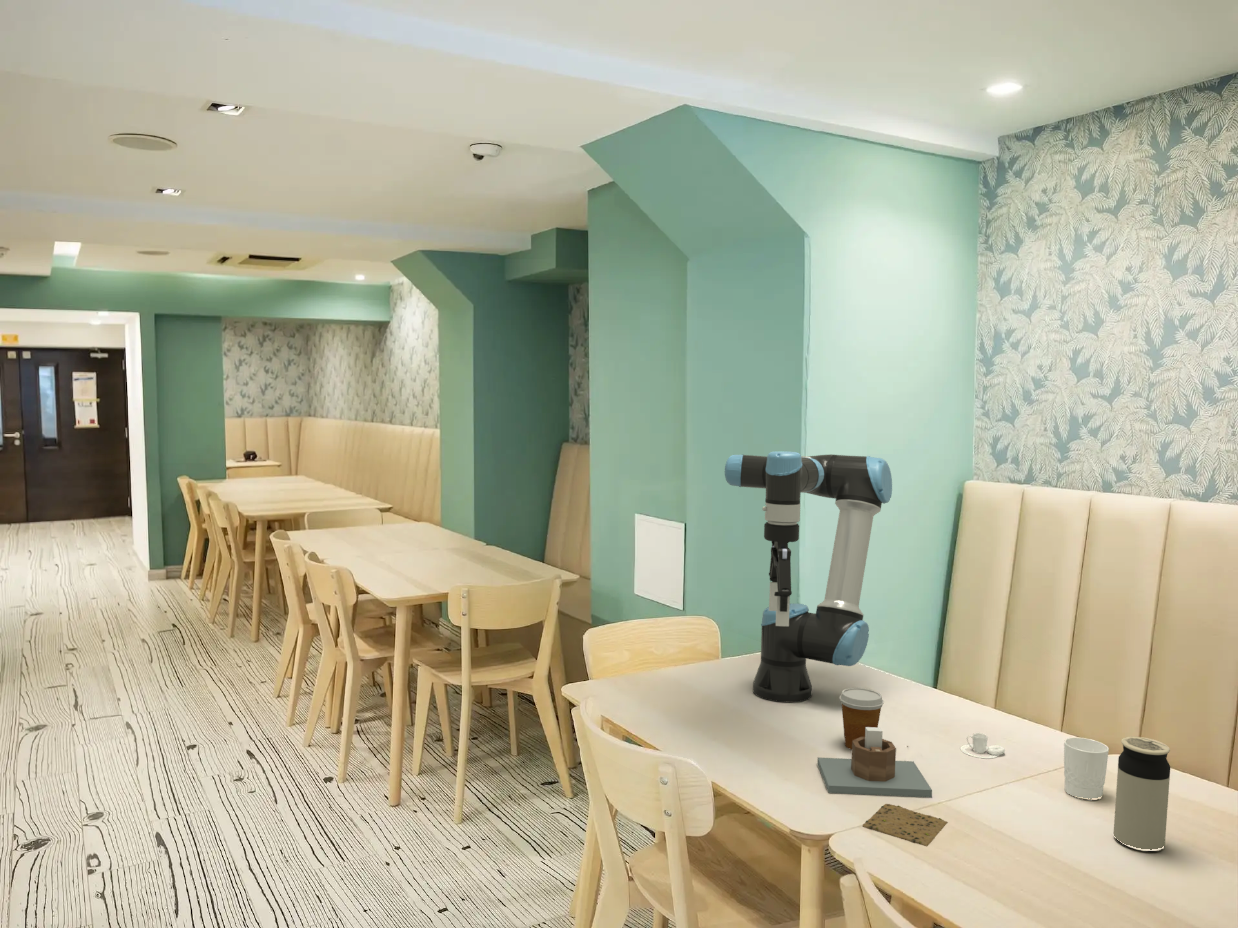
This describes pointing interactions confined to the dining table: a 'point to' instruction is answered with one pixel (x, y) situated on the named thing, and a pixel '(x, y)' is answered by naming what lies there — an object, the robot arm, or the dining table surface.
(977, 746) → the teacup and saucer
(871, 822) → the speckled square slab
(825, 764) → the shaft board
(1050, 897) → the dining table surface
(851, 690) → the disposable coffee cup
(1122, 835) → the travel mug
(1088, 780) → the white cup
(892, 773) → the brown octagonal ring
